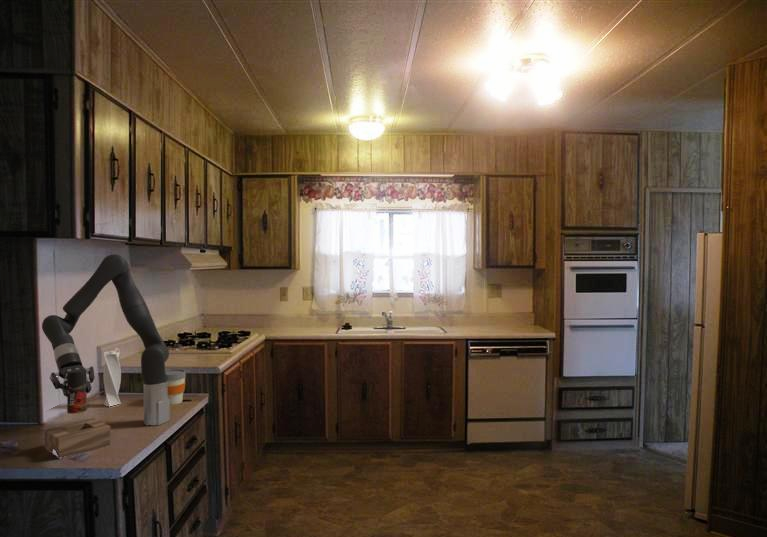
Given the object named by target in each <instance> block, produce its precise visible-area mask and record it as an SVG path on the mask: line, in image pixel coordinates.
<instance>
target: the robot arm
mask: <svg viewBox="0 0 767 537" xmlns="http://www.w3.org/2000/svg"><path fill="white" fill-rule="evenodd" d="M111 281H112V284H113V285H114V287H115V290H116V292H117V296H118V301H119V305H120V308H121V311H122V312H123V315H124V317H125V319H126V321H127V323H128V325H129V326H130V327H131V329H133V331H134V332H135V333H136V334H137V335H138V336H139V338H140V339H141V341H142V344H143V347H144V350H143V351H142V353H141V356H140V360H141V361H140V368H141V377H142V382H143V425H144V424H145V425H144V426H149V425H151V426H160V425H162V424H165V423H168V422H169V421H170V419H171V418H170V417H171V416H170V414H171V413H170V412H171V409H170V407H171V405H170V400H169V399H168V385H167V374H166V373H165V371H166V364H165V363H166V362H167V361H168V359H169V356H170V352H169V348H168V347H167V345H166V343H165V342H164V340H163V339H162V337H161V335H160V333H159V331H158V329H157V327H156V324H155V322H154V321H155V320H154V319H153V317H152V314H151V313H150V310H149V308H148V305H147V303H146V301H145V299H144V298H143V296H142V294H141V292H140V290H139V289H138V287H137V285H136V283H135V282H134V279H133V275H132V273H131V269H130V267H129V263H128V261H127V260H126V258H124V257H123V256H121V255H120V254H109V255H107V256H105V257H104V258H103V259H102V261H101V262H100V264H99V266H98V267H97V269H96V270H95V272H94V273H92V275H91V277H90V278H89V279H88V280H87V281H86V282H85V283H84V285H83V286H82V287H80V289H78V291H77V292H76V293H75V294H74V295H73V296H72V297H71V298H70V299H69V300H68V301H67V302H66V303H65V304H64V305H63V307H62V310H63V312H64V313H66V314H65V317H64V318H63V317H61V316H58V315H56V314H51V315H48V316H46V317H45V318H44V319H43V321H42V323H41V329H42V332H43V334H44V335H45V337H46V339H47V340H48V341H49V342H50V344H51V347H52V350H53V353H54V354H53V355H54V361H55V364H56V366H57V370H58V372H53V371H52V372H51V374H50V376H49V380H50V381H51V383H52V386H53V387H54V388H55V390H59V389H60V390H62V394H63V396H64V397H66V398H67V397H69V396H70V391H69V388H68V386H67V372H68V371H71V370H77V369H86V373H87V375H88V377H87V394H90V392H92V387H93V386H92V383H93V382H94V380H95V379H96V378H95V371H94V366H90V367H85V366H83V362H82V359H81V357H80V354H79V351H78V348H77V347H76V345H75V341H74V338H73V336H72V335H71V334H70V333H71V332H72V331H73V330H74V328H75V326H76V325H77V323H78V321H79V319H80V317H81V316H82V314H83V313H84V312H85V311H86V310H87V309H88V308H89V307H90V306H91V305H92V303H93V302H94V301H95V300H96V298H97V297H98V295H99V294H100V293H101V291H102V290H103V289H104V287H106V286H107V285H108V284H109V283H110V282H111ZM59 377H60V378H61V379H63V382H61V381H60V380H59Z"/></svg>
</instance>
